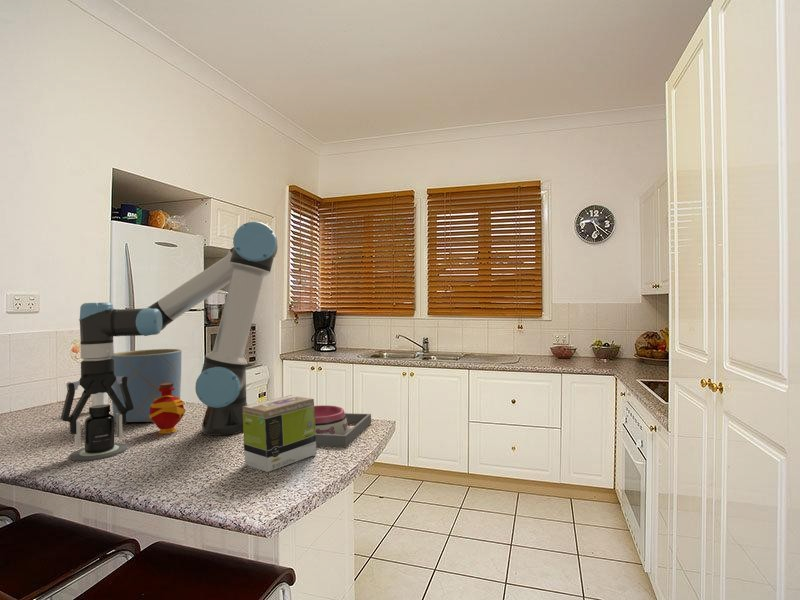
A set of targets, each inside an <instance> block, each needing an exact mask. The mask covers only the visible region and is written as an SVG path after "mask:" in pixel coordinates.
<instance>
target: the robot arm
mask: <svg viewBox="0 0 800 600" xmlns="http://www.w3.org/2000/svg"><path fill="white" fill-rule="evenodd" d="M232 240H233V242H232V243H233V244H232V246H233V247H231V248H230V249H229V250H228V253H227V255H226V256H224V257H223V258H221V259H219V260H218V261H216V262H215V263H213V264H212V265H210V266H209V267H207V268H206V269H204V270H202V271H201V272H199V273H198V274H196V275H195V276H193V277H192V278H190V279H189V280H188V281H186V282H184V283H182V284H181V285H180V286H179V287H177V288H175V289H173V290H172V291H171V292H169V293H168V294H166V295H164V296H163V297H161V298H160V299H159V300H157V301H156V302H154V303H153V304H151V305H150V306H147V307H145V308H144V307H142V308H124V309H118V308H117V309H116V308H114V306H113V304H112V302H84V303H82V304H81V305H80V308H79V310H80V311H79V318H78V321H79V336H80V337H79V338H80V359H81V362H80V378H79V379H78V380H76V381H72V382H70V381H68V382H66V390H67V391H66V395H65V399H64V404H63V407H62V411H61V415H60V420H61V421H62V422H68V423H69V433H70V435H74V446H75V447H77V448H81V445H82V441H81V437H82V436H81V421H79V420H78V419H79V417H80V415H81V413H82V412H83V409H84V408H85V406H86V404H87V402H88V400H89V399H90V397H91V394H97V393H105V392H106V393H107V394H108V398H109V399H110V400H111V402H112V401H113V403H114V404H115V406H116V407H117V409H118V410H119V412H120V413H116V423H115V424H116V426H115V428H116V438H118V439H123V426H124V425H126V424H127V422H126V413H127V412H128V411H130V410H133V408H134V407H133V404H132V400H131V397H130V394H129V390H128V387H127V377H126V376H121V377H116V376H115V374H114V360H113V359H112V358H111V357H113V356H114V353H115V352H114V350H115V349H114V337H131V336H132V337H138V336H144V337H147V336H155V335H159V334H160V333H161V331H163V330H164V329H165V328H166V327H167V326H168V325H169V324H171V323H172V322H173V321H175V320H176V319H178V318H180V317H181V316H182V315H184V314H186V313H188V311H190V310H191V309H193V308H195V307H196V306H197V305H199V304H200V303H202V302H203V301H206V299H207V298H210V297H211V296H212V295H214V294H215V293H216V292H218V291H220V290H221V289H223V288H224V287H226V286H227V285H229V286H228V289H227V295H226V298H225V303H224V306H223V310H222V313H221V317H220V321H219V325H218V330H217V334H216V337H215V341H214V344H213V348H212V350H211V351H209V353H207V354H205V358H204V361H203V364H202V368H201V372H200V375H199V376H198V377H197V379H196V381H195V388H194V389H195V394H196V396H197V398H198V400H199V401H200V402H201V403H202V404H204V405H205V406H207V407H206V411H205V414H204V418H203V420H202V424H201V432H202V434H204V435H208V436H225V435H234V434H238V433H244V432H243V406H247V405H248V402H247V377H246V376H247V374H246V373H247V371H246V370H247V366H248V360H246V358H245V356H244V355H245V352H246V348H247V344H248V340H249V335H250V332H251V328H252V324H253V319H254V316H255V312H256V308H257V304H258V300H259V296H260V293H261V289H262V284H263V280H264V278H265V277H266V276H268V275H269V274H271V271H272V266H273V263H274V258H275V257H276V255H277V253H278V239H277V235H276V234H275V231H274V230H273V228H271V227H270V226H268V225H267V224H266V223H263V222H261V221H248V222H246V223H244V224H242V225H240V226H239V227H238V228H237V229H236V231H235V233H234V235H233V239H232ZM115 381H117V383H118V384H120V389H121V392H122V395H123V399H124V402H125V405H126V407H124V406H123V405H122V403H121V402H120V400H119V398H118V397H117V395H116V394H115V392H114V390H113V389H112V387H111V386H112V385H113V383H114V382H115ZM79 386H81V388H83V391H82V393H81V396H80V398H79V400H78V401H77V403H76V405H75V407H74V409H73V411H72V412H71V410H72V406H73V402H74V399H75V394H76V390H78V389H79V388H78V387H79Z"/></svg>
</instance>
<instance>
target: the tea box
mask: <svg viewBox="0 0 800 600" xmlns="http://www.w3.org/2000/svg"><path fill="white" fill-rule="evenodd" d="M314 406H315V401H314V398H310V397H303V396H302V397H301V396H295V395H292V394H291V395H285V396H281V397H278V398H274V399H269V400H265V401H260V402H256V403H252V404H251V403H250V404H247V406H243V432H242V433H243V452H244V454H243V456H244V464H245V465H246V466H249V467H251V468H254V469H256V470H260V471H263V472H265V473H270V472H272V471H274V470H277V469H280V468H283V467H285V466H288V465H290V464H294V463H296V462H299V461H301V460H305V459H306V458H311V457H312V456H316V455H317V453H318V452H317V446H316V431H315V413H314Z"/></svg>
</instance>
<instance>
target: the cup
mask: <svg viewBox="0 0 800 600" xmlns="http://www.w3.org/2000/svg"><path fill="white" fill-rule="evenodd" d="M90 397H91V406H95V405H104V404H107V405H109V395H108V394H107V393H106V392H105V393H97V394H91V396H90Z"/></svg>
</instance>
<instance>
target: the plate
mask: <svg viewBox="0 0 800 600" xmlns="http://www.w3.org/2000/svg"><path fill="white" fill-rule="evenodd" d="M127 450H128V445H127V444H126V443H122V442H114V448H113V449H111V450H109V451H106V452H102V453H94V454H89V453H86V452H85V447H83V448H79V449H78V450H77V449H76V450H75V451H73V452H71V453H70V454H69V459H70V460H71V461H74V460H75V462H86V461H87V462H89V461H90V462H91V461H97V460H101V459H102V460H103V459H107V458H110V457H114V456H117V455H120V454H122V453H125V452H126V451H127Z"/></svg>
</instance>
